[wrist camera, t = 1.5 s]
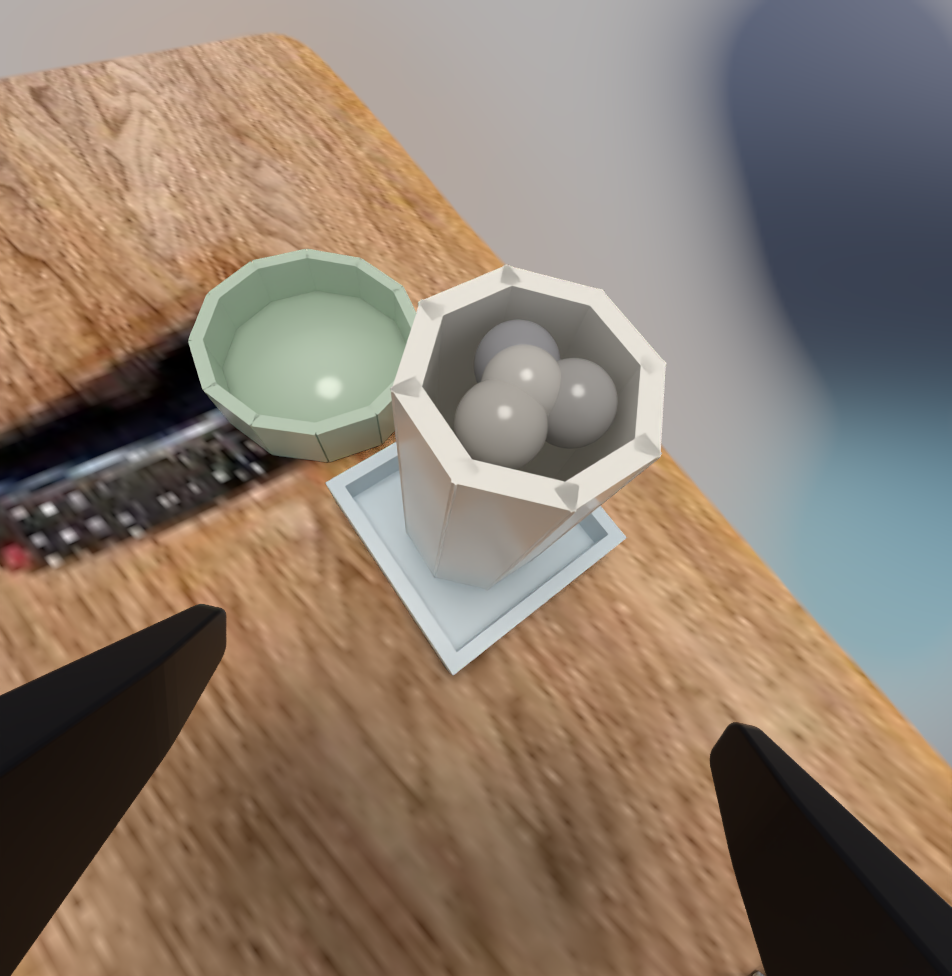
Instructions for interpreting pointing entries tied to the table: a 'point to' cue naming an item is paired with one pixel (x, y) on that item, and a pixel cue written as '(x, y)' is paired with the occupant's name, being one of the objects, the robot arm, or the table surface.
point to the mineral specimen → (758, 974)
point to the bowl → (304, 352)
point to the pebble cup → (518, 418)
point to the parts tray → (450, 605)
